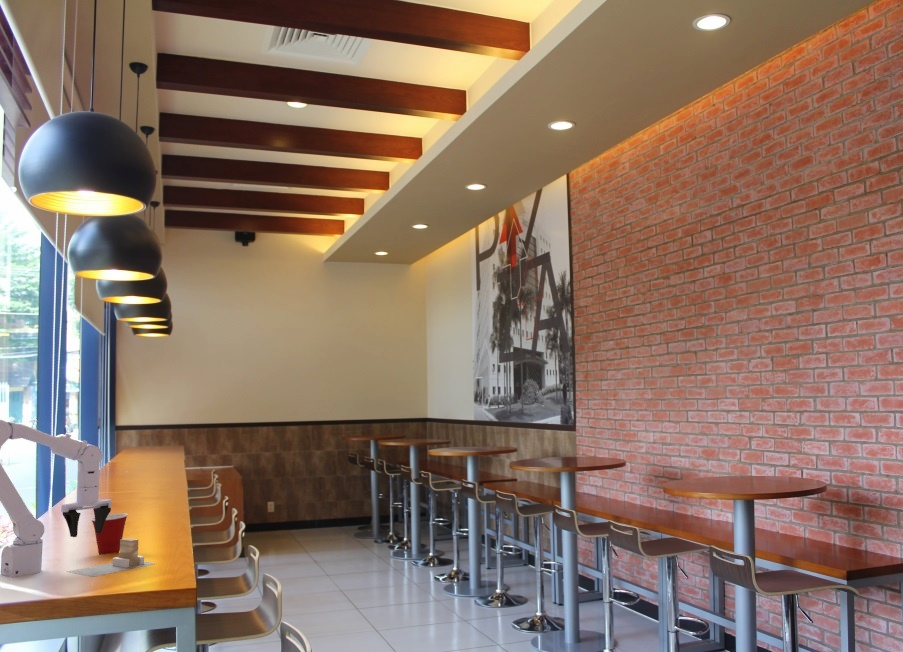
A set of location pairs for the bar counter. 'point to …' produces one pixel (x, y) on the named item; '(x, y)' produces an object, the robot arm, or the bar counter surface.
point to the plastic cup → (110, 533)
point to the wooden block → (129, 550)
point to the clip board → (111, 567)
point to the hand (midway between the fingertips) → (86, 534)
